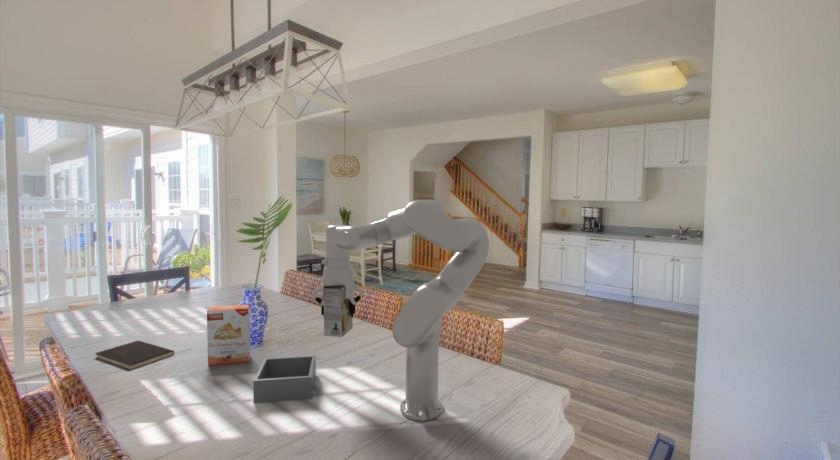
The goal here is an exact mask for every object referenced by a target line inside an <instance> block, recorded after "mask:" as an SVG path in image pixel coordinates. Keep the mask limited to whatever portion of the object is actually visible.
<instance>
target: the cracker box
mask: <svg viewBox="0 0 840 460" xmlns="http://www.w3.org/2000/svg"><path fill="white" fill-rule="evenodd" d="M250 310H251V309H250V304H241V305H240V304H239V305H237V304H236V305H219V306H218V305H217V306H216V305H215V306H209V307H208V309H207V311H206V332H207V333H206V334H207V335H206V336H207V338H206V339H207V366H217V365H229V364H230V365H231V364H241V363H249V361H250V359H251V318H250V317H251V316H250V315H251V314H250V313H251V311H250Z"/></svg>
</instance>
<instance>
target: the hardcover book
mask: <svg viewBox="0 0 840 460" xmlns="http://www.w3.org/2000/svg"><path fill="white" fill-rule="evenodd" d="M94 355H96V358H98V359H101V360H103V361H106V362H110V363H111V364H112V363H113V364H114V365H117V366H120V367H123V368H126V369H129V370H133V369H136V368H140V367H141V366H144V365H147V364H150V363H154V362H156V361H158V360H161V359H164V358H168V357H170V356H173V355H175V350H173V349H169V348H166V347H162V346H159V345H155V344H153V343H148V342H145V341H142V340H135V341H131V342H129V343H125V344H121V345H118V346H115V347H111V348H108V349H104V350H101V351H97V352H95V353H94Z"/></svg>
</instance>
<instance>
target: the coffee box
mask: <svg viewBox="0 0 840 460" xmlns="http://www.w3.org/2000/svg"><path fill="white" fill-rule="evenodd" d="M353 318H354V316H353V317H351V301H350V300H349V299H346V288H345V286H324V315H323V327H324V328H323V335H324V336H325V337H336V338H343V337H345V336H346V334H348V333H349V332H350V331H351V330H352V329H354V328H353V324H354V323H353Z"/></svg>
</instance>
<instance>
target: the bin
mask: <svg viewBox="0 0 840 460" xmlns="http://www.w3.org/2000/svg"><path fill="white" fill-rule="evenodd" d="M316 359H317V358H316V355H303V356H301V355H300V356H287V357H286V356H283V357H282V356H281V357H280V356H279V357H265V358H263V360H262V362H261V363H260V366H259V367H258V370H257V373H256V374H255V376H254V379H253V381H252V387H253V393H252V394H253V404H262V403H274V402H287V401H290V402H291V401H299V400H300V401H302V400H312V399H313V393H314V392H313V391H314V386H315V381H316V376H317V375H316V374H317V373H316V371H317V369H316V365H317V364H316Z"/></svg>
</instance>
